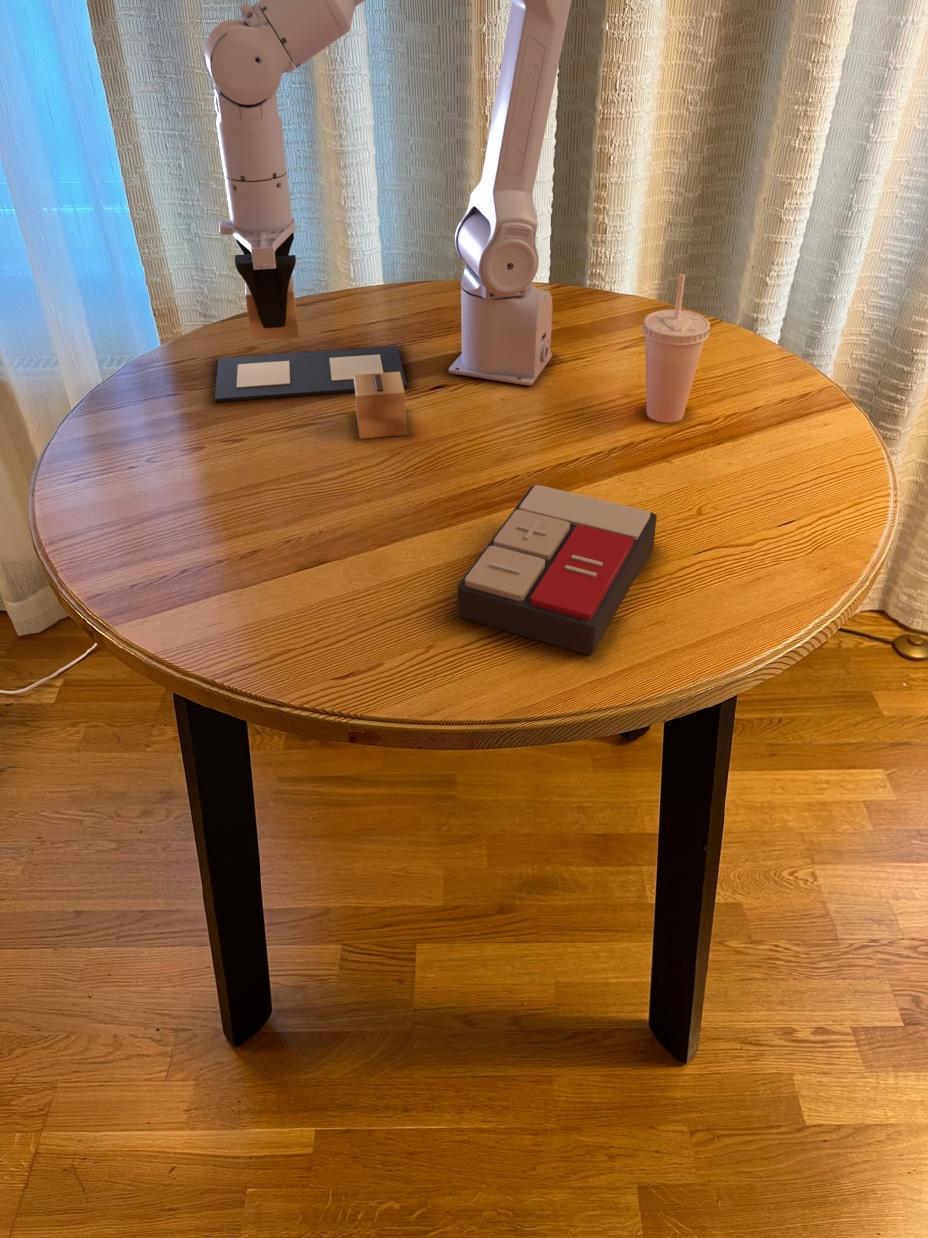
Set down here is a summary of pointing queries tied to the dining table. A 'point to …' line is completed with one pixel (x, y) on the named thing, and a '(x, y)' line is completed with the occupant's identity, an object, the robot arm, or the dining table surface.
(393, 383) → the letter block i
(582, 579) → the calculator
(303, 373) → the word mat
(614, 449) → the dining table surface
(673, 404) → the smoothie
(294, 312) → the letter block h
